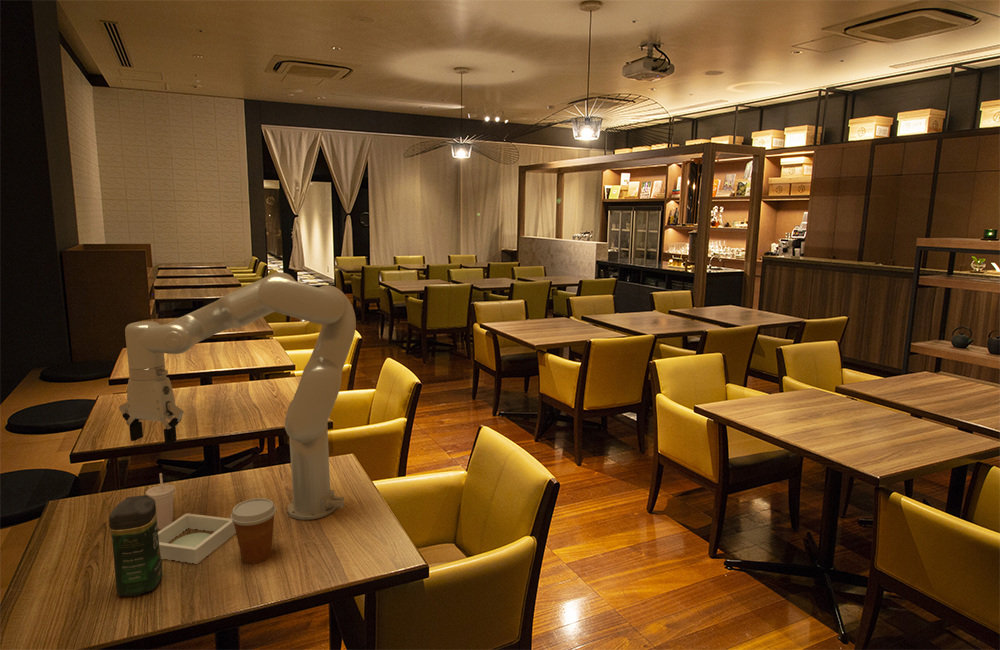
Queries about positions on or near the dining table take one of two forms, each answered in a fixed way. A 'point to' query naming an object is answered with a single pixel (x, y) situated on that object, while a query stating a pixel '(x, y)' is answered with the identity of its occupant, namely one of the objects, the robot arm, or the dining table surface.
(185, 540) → the pale green round spot
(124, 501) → the coffee jar
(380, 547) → the dining table surface
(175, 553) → the white square frame
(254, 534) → the disposable coffee cup
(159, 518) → the smoothie
